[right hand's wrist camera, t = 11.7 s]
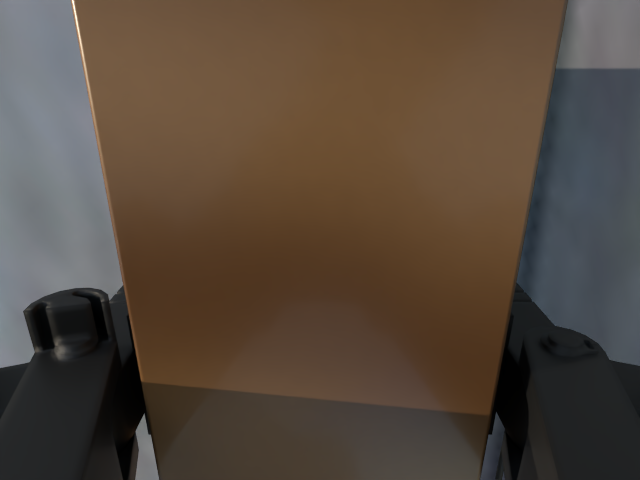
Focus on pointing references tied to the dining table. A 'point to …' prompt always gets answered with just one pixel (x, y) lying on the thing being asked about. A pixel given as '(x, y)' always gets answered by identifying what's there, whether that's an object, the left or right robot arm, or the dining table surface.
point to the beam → (319, 222)
